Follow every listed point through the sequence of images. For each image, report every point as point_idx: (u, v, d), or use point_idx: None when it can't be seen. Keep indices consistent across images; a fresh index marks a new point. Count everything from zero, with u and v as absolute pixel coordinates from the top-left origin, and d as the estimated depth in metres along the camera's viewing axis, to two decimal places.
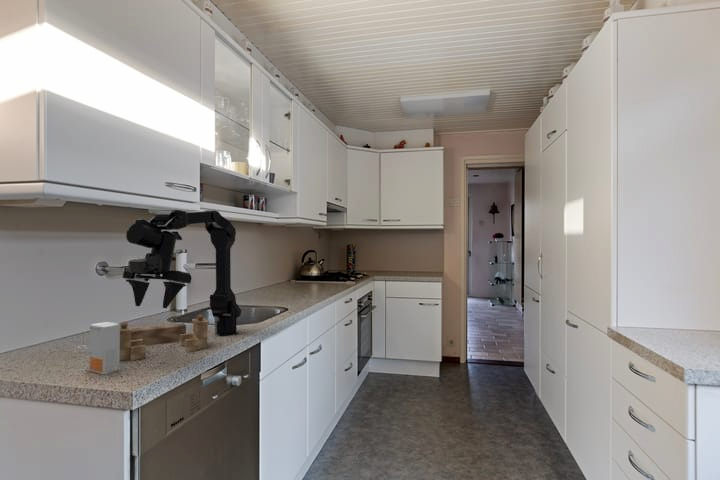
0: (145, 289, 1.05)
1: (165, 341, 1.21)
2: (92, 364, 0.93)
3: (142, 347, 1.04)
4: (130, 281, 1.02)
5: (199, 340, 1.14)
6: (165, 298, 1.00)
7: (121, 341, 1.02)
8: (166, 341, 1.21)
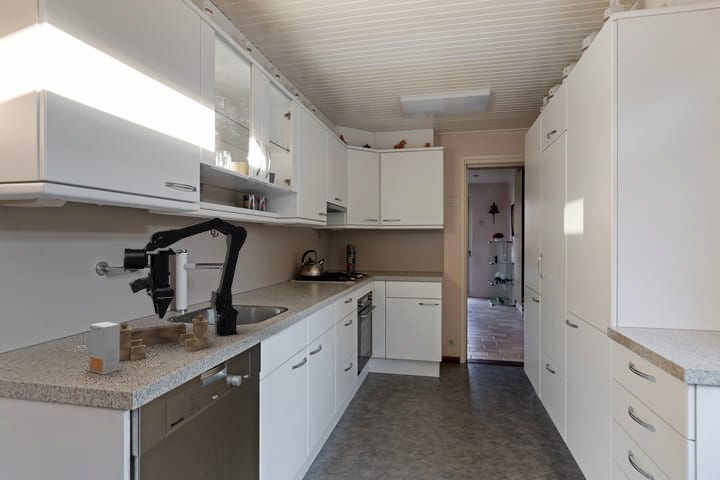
0: None
1: (165, 341, 1.21)
2: (92, 364, 0.93)
3: (142, 347, 1.04)
4: (147, 294, 1.25)
5: (199, 340, 1.14)
6: (157, 311, 1.16)
7: (121, 341, 1.02)
8: (166, 341, 1.21)
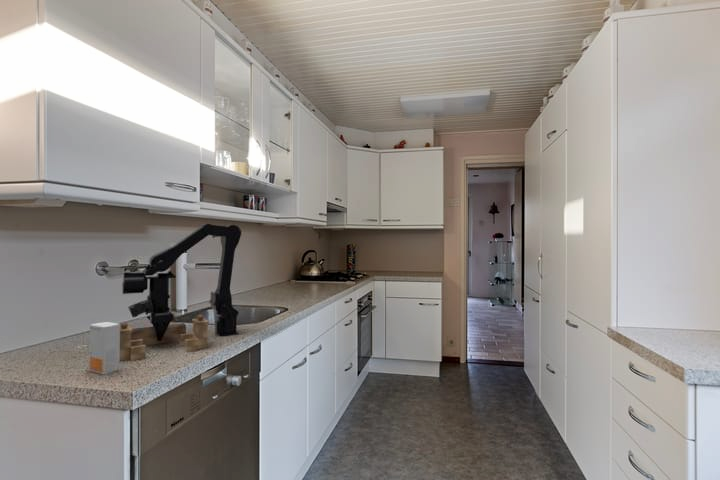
0: None
1: (165, 341, 1.21)
2: (92, 364, 0.93)
3: (142, 347, 1.04)
4: (148, 318, 1.23)
5: (199, 340, 1.14)
6: (156, 333, 1.18)
7: (121, 341, 1.02)
8: (166, 341, 1.21)
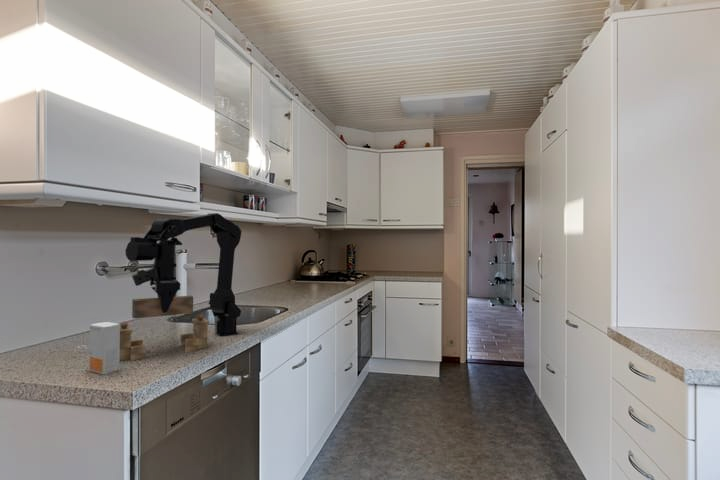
0: None
1: (171, 313, 1.11)
2: (92, 364, 0.93)
3: (142, 347, 1.04)
4: None
5: (199, 340, 1.14)
6: (161, 304, 1.09)
7: (121, 341, 1.02)
8: (172, 313, 1.11)
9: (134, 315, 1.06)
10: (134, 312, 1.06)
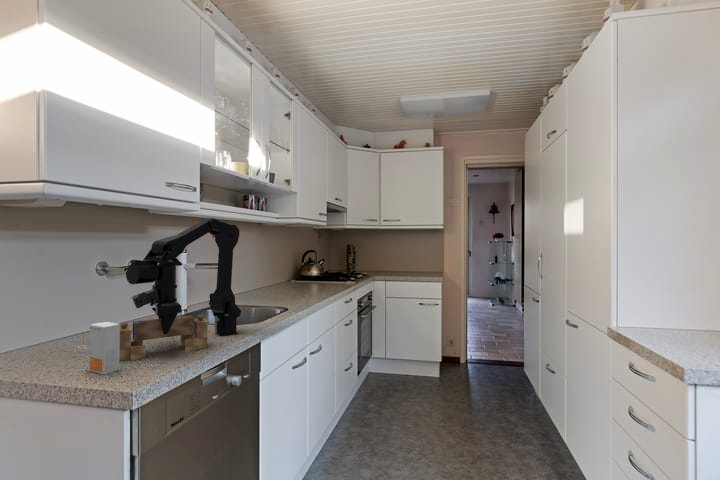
0: None
1: (171, 334, 1.11)
2: (92, 364, 0.93)
3: (142, 347, 1.04)
4: (153, 310, 1.13)
5: (199, 340, 1.14)
6: (162, 326, 1.09)
7: (121, 341, 1.02)
8: (172, 334, 1.11)
9: (135, 338, 1.05)
10: (135, 335, 1.05)
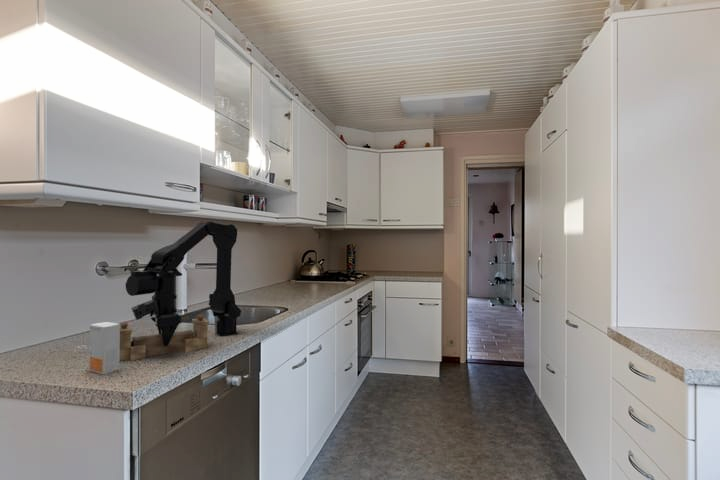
0: None
1: (171, 350, 1.11)
2: (92, 364, 0.93)
3: (142, 347, 1.04)
4: (152, 319, 1.14)
5: (199, 340, 1.14)
6: (162, 338, 1.08)
7: (121, 341, 1.02)
8: (172, 350, 1.11)
9: None
10: None
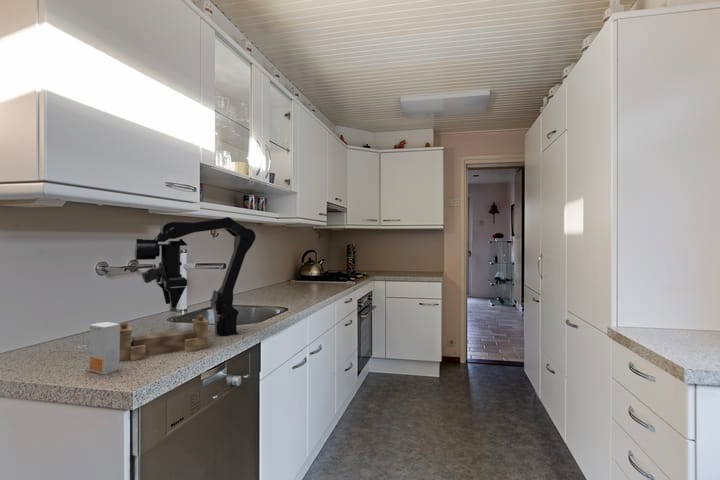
0: None
1: (171, 350, 1.11)
2: (92, 364, 0.93)
3: (142, 347, 1.04)
4: (158, 285, 1.26)
5: (199, 340, 1.14)
6: (170, 300, 1.18)
7: (121, 341, 1.02)
8: (172, 350, 1.11)
9: None
10: None
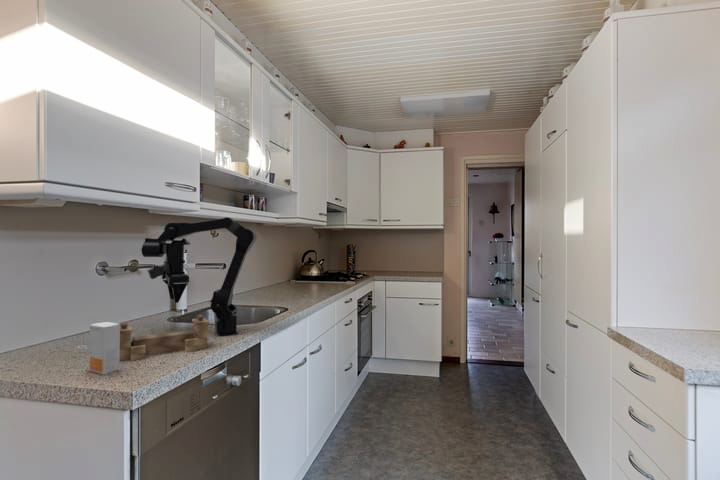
0: None
1: (171, 350, 1.11)
2: (92, 364, 0.93)
3: (142, 347, 1.04)
4: None
5: (199, 340, 1.14)
6: (173, 295, 1.27)
7: (121, 341, 1.02)
8: (172, 350, 1.11)
9: None
10: None
